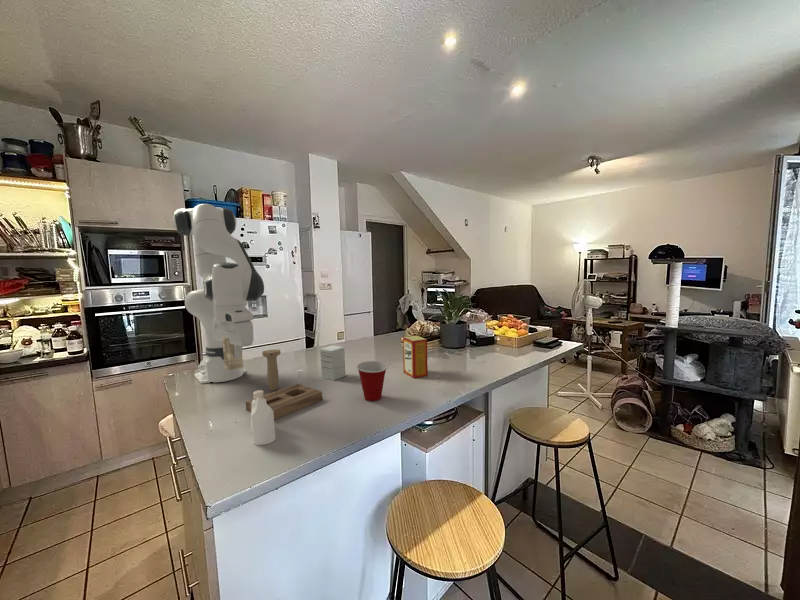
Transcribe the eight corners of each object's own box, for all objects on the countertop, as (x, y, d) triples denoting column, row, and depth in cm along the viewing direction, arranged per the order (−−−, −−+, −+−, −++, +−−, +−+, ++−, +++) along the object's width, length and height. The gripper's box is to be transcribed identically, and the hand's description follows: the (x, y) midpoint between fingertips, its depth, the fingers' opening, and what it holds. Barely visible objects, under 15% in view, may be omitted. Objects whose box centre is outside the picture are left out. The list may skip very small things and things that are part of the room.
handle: (282, 390, 125) (280, 351, 124) (264, 392, 123) (262, 353, 121) (282, 386, 130) (280, 348, 128) (264, 388, 127) (262, 350, 126)
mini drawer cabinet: (334, 373, 144) (332, 345, 143) (346, 376, 140) (344, 347, 139) (321, 377, 139) (319, 348, 137) (333, 381, 134) (331, 350, 133)
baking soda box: (403, 372, 143) (402, 336, 142) (416, 370, 146) (416, 334, 144) (413, 378, 135) (413, 340, 133) (427, 376, 137) (426, 338, 136)
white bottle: (250, 434, 91) (247, 396, 90) (250, 426, 96) (248, 390, 95) (271, 430, 93) (268, 393, 92) (270, 422, 98) (268, 387, 97)
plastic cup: (372, 407, 107) (371, 371, 106) (351, 399, 114) (350, 365, 113) (395, 397, 115) (394, 364, 114) (374, 390, 122) (373, 358, 121)
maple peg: (224, 368, 105) (222, 337, 105) (237, 364, 109) (234, 335, 108) (230, 370, 103) (228, 338, 102) (243, 366, 106) (241, 336, 105)
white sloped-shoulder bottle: (277, 394, 88) (261, 402, 83) (280, 437, 89) (264, 447, 84) (261, 391, 91) (244, 399, 85) (263, 433, 92) (247, 443, 87)
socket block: (246, 410, 107) (245, 401, 107) (298, 391, 123) (297, 383, 123) (269, 421, 99) (269, 411, 99) (322, 399, 115) (322, 391, 114)
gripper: (205, 312, 108) (208, 354, 109) (235, 317, 96) (238, 363, 97) (225, 310, 113) (227, 350, 114) (256, 314, 101) (258, 358, 102)
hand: (233, 356), depth 105 cm, fingers closed on maple peg, 4 cm apart
